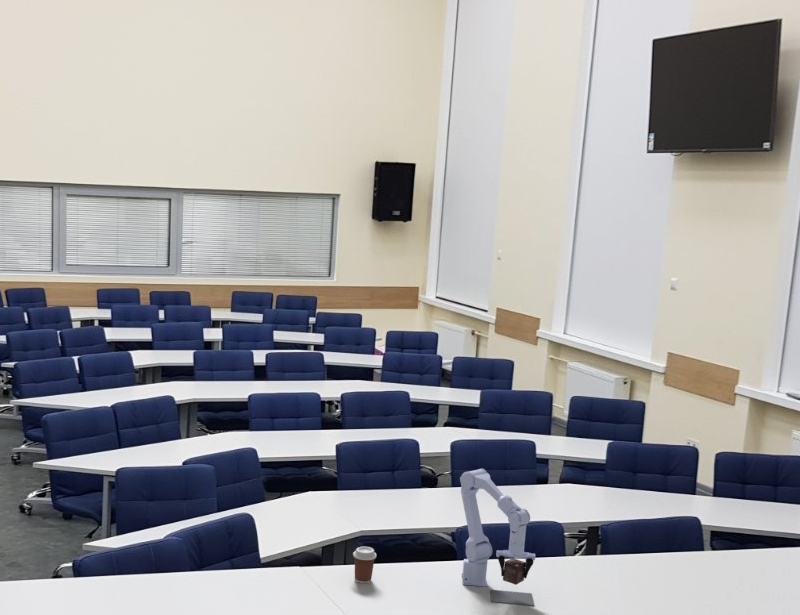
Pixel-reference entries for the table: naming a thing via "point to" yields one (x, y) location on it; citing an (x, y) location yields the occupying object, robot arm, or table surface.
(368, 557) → the coffee cup
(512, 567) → the box
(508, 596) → the desk mat
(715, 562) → the table surface
